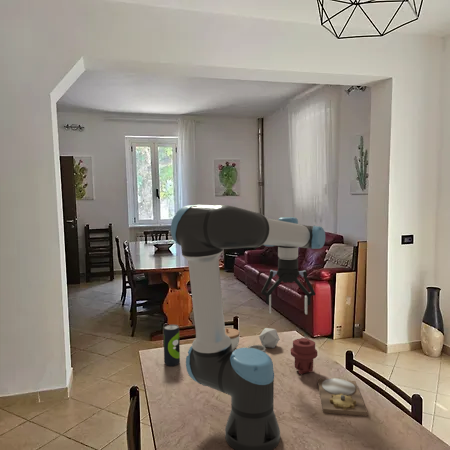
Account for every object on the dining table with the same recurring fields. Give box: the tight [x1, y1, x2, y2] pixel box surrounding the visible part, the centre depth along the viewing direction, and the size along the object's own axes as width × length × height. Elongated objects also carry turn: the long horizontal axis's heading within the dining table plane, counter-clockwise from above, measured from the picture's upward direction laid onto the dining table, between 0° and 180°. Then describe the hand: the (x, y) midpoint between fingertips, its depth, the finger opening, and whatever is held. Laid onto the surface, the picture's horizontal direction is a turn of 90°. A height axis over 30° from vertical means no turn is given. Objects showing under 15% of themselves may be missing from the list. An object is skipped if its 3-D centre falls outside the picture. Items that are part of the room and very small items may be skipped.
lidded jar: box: [225, 327, 241, 351], centre depth 168 cm, size 11×11×9 cm
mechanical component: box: [290, 337, 318, 375], centre depth 146 cm, size 12×10×10 cm
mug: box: [247, 344, 267, 354], centre depth 155 cm, size 10×7×7 cm
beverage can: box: [163, 324, 181, 367], centre depth 154 cm, size 6×6×15 cm
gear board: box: [317, 377, 368, 417], centre depth 127 cm, size 20×13×3 cm, turn 171°
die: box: [258, 327, 281, 349], centre depth 171 cm, size 8×9×10 cm
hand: (288, 312), depth 148 cm, fingers open, 13 cm apart
